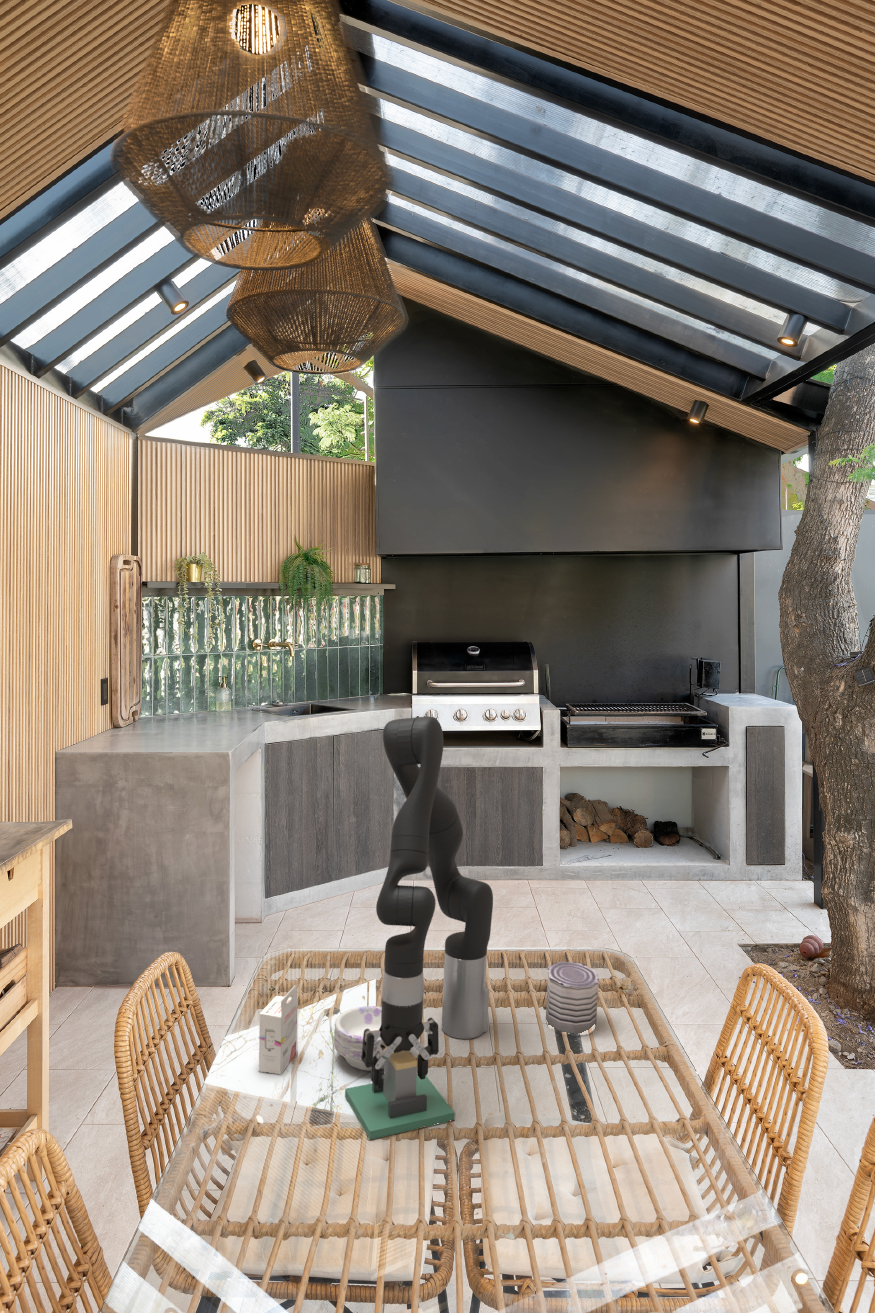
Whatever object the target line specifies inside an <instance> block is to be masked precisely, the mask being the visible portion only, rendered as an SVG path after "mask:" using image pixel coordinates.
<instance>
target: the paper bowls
mask: <svg viewBox="0 0 875 1313" xmlns="http://www.w3.org/2000/svg"><path fill="white" fill-rule="evenodd" d="M381 1011H382V1006H375V1005H370V1006H365V1005H364V1006H358V1007H354V1008H351V1009H348V1010H345V1011H344V1012H341V1013H340V1014H339V1015H338V1016H337V1017H336V1018H335V1022H334V1030H333V1031H334V1033H333V1034H334V1036H333V1047H334V1049H335V1051H336V1052H337V1054H339V1055H340V1056H342V1057H344V1059H345V1061H346V1063H348V1064H349V1065H350V1066H351V1067H353V1068H355V1069H358V1070H361V1071H368V1072H371V1070H372V1067H370V1068H367V1067H366V1066H365V1064H364V1062H363V1061H362V1059H361V1057H362V1046H363V1035H364V1030H365V1029H369V1030H370V1031H375V1030H379V1029H380V1027H381ZM381 1040H382V1039H381V1038H380V1037H379V1038H378V1039H377V1042H376V1044H374V1048H373V1055H374V1053H375V1052H376V1050H377V1046H378V1045H379V1043H380V1042H381ZM386 1048H387V1046H386V1047H385V1049H386ZM381 1068H382V1070H384V1063H383V1065H382V1066H381Z"/></svg>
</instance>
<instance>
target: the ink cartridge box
mask: <svg viewBox="0 0 875 1313" xmlns="http://www.w3.org/2000/svg"><path fill="white" fill-rule="evenodd" d="M298 1000H299V998H298V986H297V984H295V985H293V987H291V989H290V990H289V991H288V992H287V993H286V994H285V995H284V996H283V995H282V996H281V995H275V996H274V997H273V998H272V1000H271V1001H270V1002H269V1003H268V1004H267V1005H266V1006H265V1007H264V1008H263V1010H262V1011H261V1012H260V1013H259V1027H258V1028H259V1031H258V1032H259V1033H258V1034H259V1035H258V1036H259V1038H258V1040H259V1041H258V1042H259V1043H258V1045H259V1046H258V1047H259V1048H258V1050H259V1052H258V1072H259V1071H260V1073H266V1072H269V1073H268V1074H273V1073H276V1075H282V1074H283V1073H284V1072H285V1070H286V1068H287V1067H288V1065H289V1064H290V1063H291V1061H292V1059H293V1058H294V1057H295V1056H296V1054H297V1038H298V1008H299V1006H298V1005H299V1004H298V1002H299V1001H298ZM289 1062H290V1063H289ZM286 1066H287V1067H286ZM284 1069H285V1070H284ZM277 1073H278V1074H277ZM281 1073H282V1074H281Z"/></svg>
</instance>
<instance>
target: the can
mask: <svg viewBox="0 0 875 1313" xmlns="http://www.w3.org/2000/svg"><path fill="white" fill-rule="evenodd" d="M599 983H600V978H599V976H598V972H597V970H594V969H593V968H590V967H588V966H586V965H585V964H583V963H580V962H569V961H560V960H559V961H557V962H556V963H553V964H551V965H549V966H547V985H546V986H547V987H546V1006H545V1021H546V1020H547V1022H548V1025H551V1026H552V1027H554V1028H556V1029H557V1030H559V1031H561V1032H567V1033H574V1034H578V1033H582V1032H584V1031H586V1030H589V1029H590V1028H591V1027H592V1026H593V1025H594V1024H595V1023H596V1024H597V1014H598V999H599V998H598V994H599ZM547 1022H546V1023H547ZM548 1025H547V1026H548Z"/></svg>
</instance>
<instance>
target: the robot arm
mask: <svg viewBox="0 0 875 1313" xmlns="http://www.w3.org/2000/svg"><path fill="white" fill-rule="evenodd" d="M382 742H383V747H384V751H385V755H386V758H387V759H388V762H389V764H390V767H391V768H392V770H393V772H394V774H395V777H396V779H397V781H398V783H399V785H400V788H401V790H402V791H403V794H404V798H405V799H406V800H405V801H404V802H403V804H402V806H401V807H400V809H399V811H398V812H397V815H396V817H395V819H394V822H393V824H392V828H391V830H392V831H391V840H390V854H389V863H388V868H387V872H386V873H385V874H386V875H385V879H384V881H383V884H382V886H381V889H380V892H379V894H378V898H377V901H376V906H375V907H376V908H375V909H376V910H375V912H376V915H377V918H378V920H379V921H380V922H381V923H382V924H383V925H386V926H398V927H399V926H401V927H413V928H412V929H411V931H408V932H405V933H400V934H396V935H393V936H391V937H389V938H388V939H387V941H385V947H384V970H383V977H382V987H381V988H382V990H381V1007H382V1011H381V1027H380V1029H379V1030H375V1031H370V1030H369V1029H365V1030H364V1035H363V1046H362V1057H361V1059H362V1061H363V1062H364V1064H365V1066H366V1067H367V1068H370V1067H372V1070H371V1071H370V1072H371V1077H370V1080H371V1083H372V1082H373V1084H374V1086H376V1087H377V1089H378V1088H381V1087H382V1075H383V1069H382V1068H381V1066H382V1065H383V1063H384V1062H385V1060H386V1059H389V1057H390V1056H391V1054H392V1053H393V1052H394V1053H398V1052H401V1051H411V1050H412V1049H413V1048H415V1049H416V1051H417V1052H418V1053H419V1054H418V1055H417V1074H418V1076H419V1078H420V1079H421V1080H422V1079H425V1075H426V1076H428V1073H429V1059H430V1057H432V1056H433V1055H434V1056H436V1055H438V1054H439V1049H440V1047H439V1046H440V1045H439V1043H440V1042H439V1035H440V1034H439V1024H438V1023H437V1022H436V1020H435V1019H433V1017H429V1018H428V1019H427V1021H423V1018H424V1017H423V1014H424V993H425V988H424V987H425V984H424V983H425V982H424V981H425V980H424V954H425V953H424V952H425V944H426V939H427V935H428V931H429V929H430V926H431V923H432V920H433V917H434V914H435V910H436V904H437V903H436V899H437V902H438V906H439V909H440V911H441V912H442V914H443V915H445V917H448V918H450V919H452V920H455V921H458V922H461V923H465V925H464V931H458V932H454V933H452V934H451V933H450V935H448V936H447V937H446V938H445V942H444V962H443V966H444V967H443V984H442V987H443V988H442V1008H441V1009H442V1012H441V1030H442V1032H443V1033H445V1035H447V1036H449V1037H451V1038H455V1039H461V1040H466V1039H469V1040H470V1039H474V1038H477V1037H480V1036H481V1035H482V1034H484V1033H487V1032H488V1024H489V1023H488V1021H489V1005H490V1004H489V1000H490V997H489V996H490V989H489V987H487V984H486V983H487V981H486V980H487V959H488V958H487V956H488V946H489V942H490V938H491V929H492V928H491V927H492V918H493V909H494V908H493V907H494V894H493V890H492V888H491V885H490V884H488V883H487V882H484V881H481V880H477V879H473V878H471V877H470V878H469V877H466V876H463V875H462V874H461V872H460V871H459V868H458V866H457V862H456V856H457V854H458V851H459V849H460V847H461V845H462V842H463V839H464V829H463V825H462V822H461V818H460V816H459V812H458V810H457V806H456V805H455V803H454V802H453V800H452V799H451V797H449V796H448V795H447V794H446V793H445V792H444V791H443V790H441V788H439V787H438V786H437V785H438V782H439V777H440V776H439V775H440V771H441V770H440V769H441V764H442V759H443V752H444V732H443V728H442V726H441V723H440V721H439V719H437V718H435V717H434V716H419V717H418V716H417V717H409V718H397V719H392V720H390V721H388V722H387V723H385V725H384V727H383V731H382ZM428 866H429V870H430V873H431V877H432V881H433V886H434V891H435V895H436V897H435V895H434V892H433V891H432V890H431V889H430V888H429V887H427V886H424V885H423V886H420V885H401V884H400V885H399V882H400V881H401V880H402V879H403V878H404V877H407V876H410V875H415V874H421V873H423V872H425V871H426V870H427V868H428ZM424 1032H426V1034H427V1035H426V1036H427V1045H426V1046H425V1047H424V1046H423V1044H422V1042H420V1041H419V1039H420V1038H421V1036H422V1034H423V1033H424ZM379 1037H380V1038H381V1039H382V1040H381V1042H380V1043H379V1045H378V1046H377V1050H376V1052H375V1053H374V1055H373V1048H374V1044H376V1042H377V1039H378V1038H379ZM386 1046H387V1049H386V1050H385V1047H386Z"/></svg>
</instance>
